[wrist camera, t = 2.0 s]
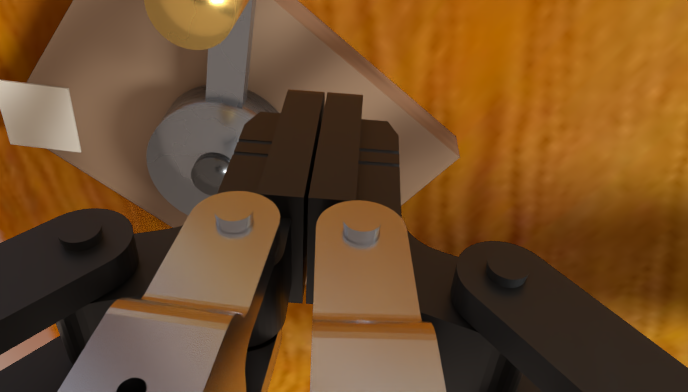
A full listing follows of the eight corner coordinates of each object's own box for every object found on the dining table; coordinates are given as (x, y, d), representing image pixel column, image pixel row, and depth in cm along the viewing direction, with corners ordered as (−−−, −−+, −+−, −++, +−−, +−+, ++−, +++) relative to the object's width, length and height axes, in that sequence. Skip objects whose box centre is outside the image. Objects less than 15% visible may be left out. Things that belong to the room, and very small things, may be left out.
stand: (456, 136, 30) (461, 169, 28) (283, 283, 37) (275, 319, 35) (127, -146, 23) (96, -136, 21) (-7, 100, 31) (-41, 129, 28)
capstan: (274, 263, 33) (247, 379, 27) (162, 242, 33) (108, 355, 26) (330, -76, 22) (306, -16, 16) (163, -113, 22) (72, -66, 16)
